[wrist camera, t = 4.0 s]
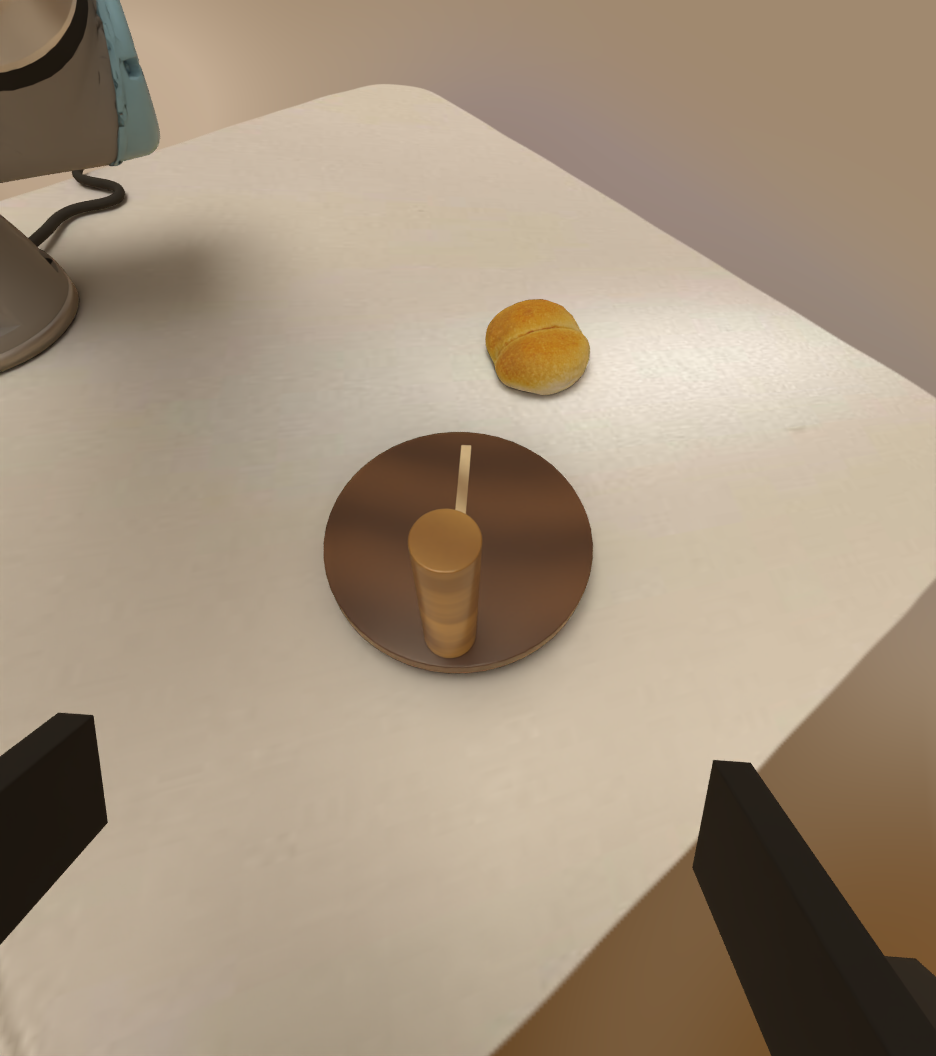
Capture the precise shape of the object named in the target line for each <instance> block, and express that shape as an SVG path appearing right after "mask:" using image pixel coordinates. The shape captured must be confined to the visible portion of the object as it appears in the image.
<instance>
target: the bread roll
mask: <svg viewBox="0 0 936 1056" xmlns="http://www.w3.org/2000/svg"><path fill="white" fill-rule="evenodd" d="M486 347H487V351H488V353H489V355H490V357H491V359H492V360H493V363H494V365H495V370H496V373H497V375H498V377H499V379H500V380H501V381H502V382H503V383H504V384H505V385H507V386H509V387H512V388H514V389H518V390H522V391H527V392H532V393H536V394H541V395H548V394H555V393H558V392H560V391H562V390H565V389H566V388H568V387H570V386H571V385H573V384H574V383H575V382H576V381H577V380H578V379H579V378H580V377H581V376H582V374H583V373H584V371H585V369H586V366H587V363H588V360H589V354H590V346H589V342H588V340H587V338H586V337H585V336H584V335H583V334H582V332H581V330H580V329H579V326H578V325H577V323H576V321H575V319H574V318H573V316H572V315H571V314H570V313H569V312H568V311H567V310H566V309H565V308H564V307H562V306H560V305H559V304H556V303H553V302H550V301H548V300H543V299H536V300H526V301H522V302H519V303H516V304H514V305H512V306H509V307H507V308H506V309H504V310H502V311H501V312H500V313H498V314H497V315H496V316H495V317H494V319H493V320H492V321H491V322H490V324H489V325H488V328H487V331H486Z"/></svg>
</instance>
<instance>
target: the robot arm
mask: <svg viewBox="0 0 936 1056" xmlns="http://www.w3.org/2000/svg"><path fill="white" fill-rule="evenodd" d="M159 140H160V131H159V126H158V122H157V118H156V114H155V110H154V107H153V103H152V100H151V97H150V94H149V90H148V87H147V84H146V81H145V78H144V75H143V72H142V69H141V67H140V65H139V59H138V56H137V53H136V50H135V47H134V43H133V40H132V36H131V33H130V31H129V27H128V24H127V21H126V18H125V15H124V12H123V9H122V6H121V3H120V0H0V183H3V182H9V181H15V180H20V179H26V178H31V177H37V176H43V175H49V174H55V173H62V172H68V171H72V175H73V177H74V178H75V179H76V180H77V181H78V182H80V183H82V184H84V185H88V186H92V187H97V188H103V189H108V190H112V191H114V193H113V194H111V195H110V196H107V197H104V198H100V199H95V200H90V201H84V202H79V203H75V204H72V205H69V206H67V207H64V208H62V209H60V210H59V211H57V212H56V213H54V214H53V215H52V216H51V217H50V218H49V219H48V220H47V221H46V222H45V223H44V224H43V225H42V226H41V227H40V228H39V229H38V230H37V231H36V232H35V233H33V234H32V235H31V236H30V237H29V238H27V237H26V236H25V235H24V234H23V233H22V232H21V231H19V230H18V229H17V228H16V227H15V226H14V225H12V224H11V223H10V222H9V221H8V220H6V219H5V218H4V217H3V216H2V215H0V372H2V371H5V370H7V369H10V368H12V367H15V366H17V365H19V364H21V363H23V362H25V361H27V360H29V359H31V358H32V357H34V356H36V355H37V354H39V353H40V352H42V351H43V350H45V349H46V348H48V347H49V346H50V345H51V344H53V343H54V342H55V341H56V340H57V339H58V338H59V337H60V336H61V335H62V334H63V333H64V332H65V331H66V330H67V328H68V327H69V326H70V324H71V323H72V321H73V319H74V317H75V315H76V313H77V309H78V304H79V296H78V292H77V289H76V287H75V286H74V284H73V283H72V281H71V280H70V278H69V277H68V275H67V274H66V272H65V271H64V270H63V268H62V267H61V266H60V265H59V264H58V263H57V262H56V261H55V260H54V259H53V258H52V257H51V256H49V255H48V254H47V253H46V252H44V251H43V250H41V249H39V248H38V246H39V245H40V244H42V243H43V242H44V241H45V240H46V239H47V238H48V237H49V236H50V235H51V234H52V233H53V232H54V231H55V230H56V229H57V227H58V226H59V225H60V224H61V223H62V222H64V221H65V220H67V219H68V218H70V217H72V216H74V215H77V214H80V213H83V212H88V211H93V210H99V209H104V208H108V207H111V206H114V205H116V204H118V203H120V202H121V201H122V200H123V199H124V195H125V191H124V189H123V187H122V186H121V185H120V184H118V183H116V182H114V181H111V180H106V179H101V178H95V177H90V176H86V175H83V174H82V173H83V170H84V169H87V168H94V167H100V166H106V165H109V166H118V165H120V164H121V163H122V162H123V161H126V160H130V159H134V158H138V157H142V156H146V155H149V154H151V153H153V152H154V151H155V150H156V148H157V147H158V144H159ZM107 823H108V821H107V813H106V806H105V798H104V791H103V783H102V776H101V768H100V761H99V753H98V746H97V739H96V731H95V724H94V716H93V715H83V714H69V713H57V714H56V715H55V716H53V717H52V718H51V719H49V720H48V721H47V722H45V723H44V724H43V725H41V726H40V727H39V728H37V729H36V730H35V731H33V732H32V733H31V734H29V735H28V736H27V737H25V738H24V739H23V740H21V741H20V742H19V743H17V744H16V745H15V746H13V747H12V748H11V749H9V750H8V751H7V752H5V753H4V754H3V755H1V756H0V944H1V943H2V942H3V941H4V940H5V939H6V938H7V936H8V935H9V934H10V933H11V932H12V931H13V930H14V929H15V927H16V926H17V925H18V924H19V923H20V922H21V921H22V919H23V918H24V917H25V916H26V915H27V914H28V913H29V911H30V910H31V909H32V908H33V907H34V906H35V905H36V904H37V902H38V901H39V900H40V899H41V898H42V897H43V896H44V894H45V893H46V892H47V891H48V890H49V889H50V888H51V886H52V885H53V884H54V883H55V882H56V881H57V880H58V879H59V877H60V876H61V875H62V874H63V873H64V872H65V871H66V869H67V868H68V867H69V866H70V865H71V864H72V863H73V861H74V860H75V859H76V858H77V857H78V856H79V855H80V854H81V852H82V851H83V850H84V849H85V848H86V847H87V846H88V844H89V843H90V842H91V841H92V840H93V839H94V838H95V836H96V835H97V834H98V833H99V832H100V831H101V830H102V828H103V827H104V826H105V825H106V824H107ZM693 870H694V873H695V875H696V877H697V879H698V882H699V884H700V887H701V889H702V892H703V894H704V896H705V899H706V901H707V904H708V906H709V908H710V910H711V913H712V915H713V918H714V920H715V923H716V925H717V927H718V930H719V932H720V935H721V937H722V939H723V941H724V944H725V946H726V949H727V951H728V954H729V956H730V958H731V961H732V963H733V965H734V968H735V970H736V973H737V975H738V977H739V980H740V982H741V985H742V987H743V989H744V991H745V994H746V996H747V999H748V1001H749V1004H750V1006H751V1008H752V1010H753V1013H754V1015H755V1018H756V1020H757V1023H758V1025H759V1027H760V1030H761V1032H762V1034H763V1037H764V1039H765V1042H766V1044H767V1046H768V1049H769V1051H770V1054H771V1056H936V977H935V976H934V975H933V974H932V973H931V972H930V971H929V970H928V969H926V968H925V967H924V966H923V965H922V964H921V963H920V962H919V961H918V960H917V959H913V958H901V957H888V956H884V955H883V953H882V952H881V950H880V949H879V948H878V946H877V945H876V943H875V942H874V940H873V939H872V938H871V936H870V935H869V933H868V932H867V930H866V929H865V927H864V926H863V924H862V923H861V922H860V920H859V919H858V917H857V916H856V914H855V913H854V911H853V910H852V909H851V907H850V906H849V904H848V903H847V901H846V900H845V898H844V897H843V896H842V894H841V893H840V891H839V890H838V888H837V887H836V886H835V884H834V883H833V881H832V880H831V878H830V877H829V875H828V874H827V872H826V871H825V870H824V868H823V867H822V865H821V864H820V863H819V861H818V859H817V858H816V857H815V855H814V854H813V852H812V851H811V849H810V848H809V847H808V845H807V844H806V842H805V841H804V839H803V838H802V836H801V835H800V833H799V832H798V831H797V829H796V828H795V826H794V825H793V823H792V822H791V821H790V819H789V818H788V816H787V815H786V813H785V812H784V811H783V809H782V808H781V806H780V805H779V803H778V802H777V800H776V799H775V797H774V796H773V794H772V793H771V792H770V790H769V789H768V787H767V786H766V784H765V783H764V781H763V780H762V779H761V777H760V776H759V774H758V773H757V771H756V770H755V768H754V767H753V766H752V764H751V763H747V762H733V761H720V760H713V764H712V769H711V774H710V780H709V785H708V790H707V795H706V800H705V805H704V811H703V816H702V821H701V826H700V831H699V836H698V842H697V847H696V852H695V857H694V862H693Z"/></svg>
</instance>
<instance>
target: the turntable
mask: <svg viewBox="0 0 936 1056" xmlns="http://www.w3.org/2000/svg"><path fill="white" fill-rule="evenodd" d="M592 559H593V542H592V534H591V528H590V524H589V521H588V517H587V514H586V512H585V509H584V507H583V505H582V503H581V500H580V499H579V497H578V495H577V494H576V492H575V491H574V489H573V487H572V486H571V485H570V484H569V482H568V481H567V480H566V479H565V477H564V476H563V475H562V474H561V473H560V472H559V471H558V470H557V469H556V468H555V467H554V466H552V465H551V464H550V463H549V462H547V461H546V460H545V459H543V458H542V457H541V456H539V455H537V454H536V453H534V452H532V451H531V450H529V449H527V448H525V447H523V446H521V445H518V444H516V443H514V442H511V441H508V440H505V439H502V438H499V437H495V436H490V435H486V434H479V433H470V432H448V433H437V434H432V435H427V436H422V437H418V438H415V439H412V440H409V441H406V442H403V443H401V444H399V445H396V446H394V447H392V448H390V449H388V450H387V451H385V452H383V453H381V454H379V455H378V456H377V457H375V458H374V459H372V460H371V461H370V462H368V463H367V464H366V465H365V466H364V467H363V468H361V469H360V470H359V471H358V472H357V473H356V474H355V475H354V476H353V477H352V479H351V480H350V481H349V482H348V483H347V485H346V486H345V487H344V489H343V490H342V492H341V493H340V495H339V497H338V498H337V500H336V502H335V504H334V506H333V509H332V511H331V513H330V516H329V519H328V523H327V526H326V531H325V538H324V564H325V570H326V575H327V579H328V582H329V585H330V588H331V591H332V593H333V595H334V597H335V599H336V601H337V603H338V605H339V607H340V609H341V611H342V612H343V614H344V615H345V617H346V618H347V620H348V621H349V623H350V624H351V625H352V626H353V627H354V628H355V630H356V631H357V632H358V633H359V634H360V635H361V636H362V637H363V638H364V639H365V640H367V641H368V642H369V643H370V644H372V645H373V646H374V647H375V648H377V649H378V650H380V651H382V652H383V653H385V654H387V655H388V656H390V657H392V658H394V659H396V660H398V661H401V662H403V663H405V664H408V665H410V666H414V667H418V668H421V669H425V670H429V671H436V672H444V673H472V672H480V671H487V670H491V669H494V668H498V667H502V666H505V665H508V664H510V663H513V662H515V661H518V660H520V659H522V658H524V657H526V656H527V655H529V654H531V653H533V652H534V651H536V650H538V649H539V648H540V647H542V646H543V645H544V644H545V643H547V642H548V641H549V640H551V639H552V638H553V637H554V636H555V635H556V634H557V633H558V632H559V631H560V630H561V629H562V628H563V626H564V625H565V624H566V623H567V621H568V620H569V618H570V617H571V616H572V614H573V613H574V611H575V609H576V607H577V605H578V603H579V601H580V599H581V597H582V595H583V593H584V591H585V588H586V585H587V582H588V579H589V576H590V571H591V565H592Z"/></svg>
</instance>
